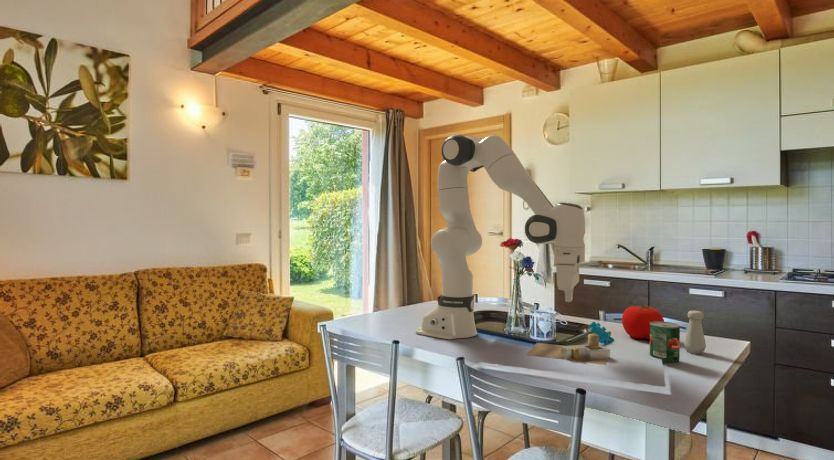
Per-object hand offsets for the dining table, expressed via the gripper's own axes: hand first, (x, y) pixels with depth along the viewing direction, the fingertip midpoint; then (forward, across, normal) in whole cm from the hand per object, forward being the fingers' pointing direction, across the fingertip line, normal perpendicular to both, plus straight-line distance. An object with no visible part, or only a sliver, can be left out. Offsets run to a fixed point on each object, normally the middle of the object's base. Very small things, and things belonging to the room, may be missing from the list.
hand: (568, 301), depth 144 cm
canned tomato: (+17, -7, +26) cm, 32 cm away
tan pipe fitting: (+15, +4, +5) cm, 16 cm away
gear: (+17, -17, +9) cm, 26 cm away
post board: (+17, +2, 0) cm, 17 cm away
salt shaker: (+17, -21, +35) cm, 44 cm away
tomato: (+17, -34, +20) cm, 43 cm away
